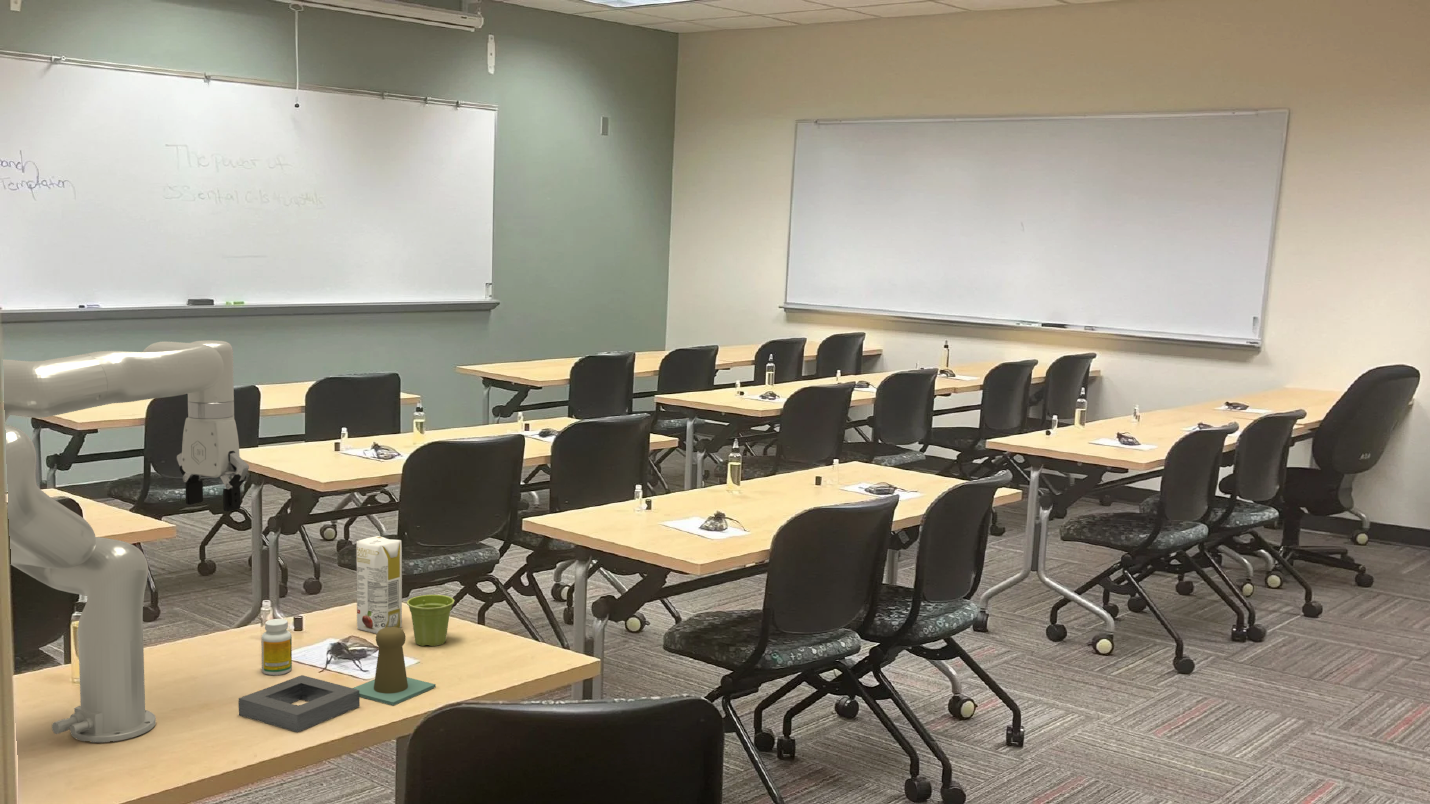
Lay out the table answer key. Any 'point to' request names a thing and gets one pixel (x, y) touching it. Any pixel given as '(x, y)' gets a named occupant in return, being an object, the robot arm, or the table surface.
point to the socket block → (280, 712)
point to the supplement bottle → (276, 648)
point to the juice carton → (379, 584)
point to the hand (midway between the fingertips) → (213, 506)
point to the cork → (390, 661)
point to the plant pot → (430, 618)
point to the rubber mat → (394, 698)
